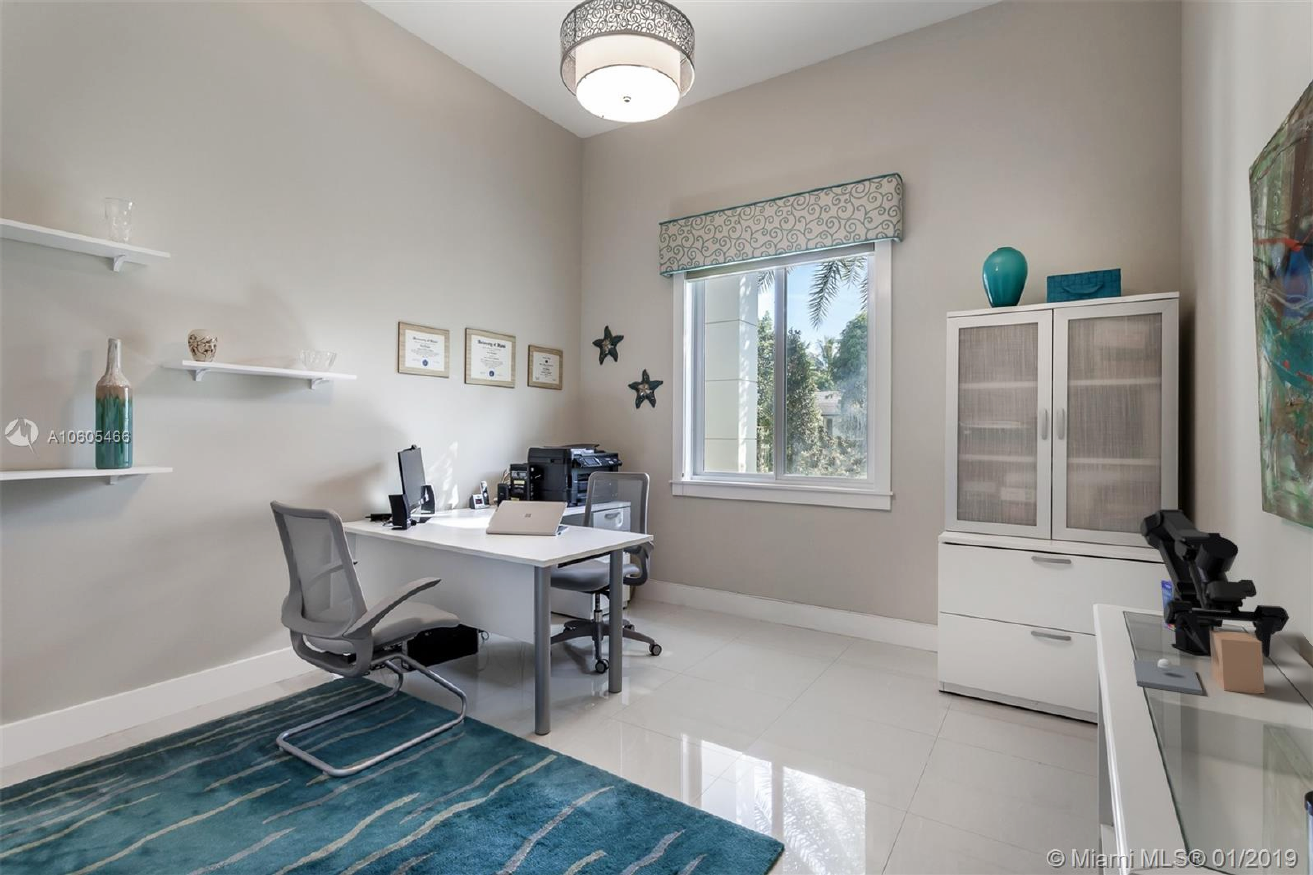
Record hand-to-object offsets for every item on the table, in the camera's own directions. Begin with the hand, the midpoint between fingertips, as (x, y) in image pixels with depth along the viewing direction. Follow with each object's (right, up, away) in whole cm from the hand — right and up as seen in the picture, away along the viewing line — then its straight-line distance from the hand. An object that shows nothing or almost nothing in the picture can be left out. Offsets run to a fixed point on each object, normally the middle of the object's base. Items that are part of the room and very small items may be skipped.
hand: (1236, 653), depth 122 cm
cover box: (0, -7, 0) cm, 7 cm away
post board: (-9, -7, +6) cm, 13 cm away
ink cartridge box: (+22, -6, +35) cm, 42 cm away
